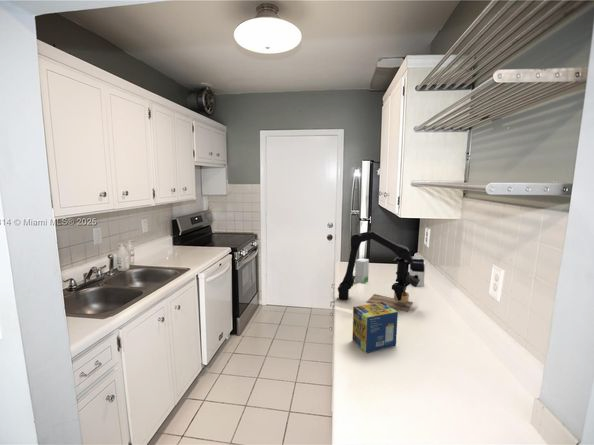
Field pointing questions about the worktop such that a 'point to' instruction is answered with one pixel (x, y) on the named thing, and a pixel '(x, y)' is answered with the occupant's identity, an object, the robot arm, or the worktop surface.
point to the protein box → (374, 326)
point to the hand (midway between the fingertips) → (401, 298)
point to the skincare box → (361, 270)
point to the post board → (390, 302)
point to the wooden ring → (404, 297)
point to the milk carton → (420, 274)
